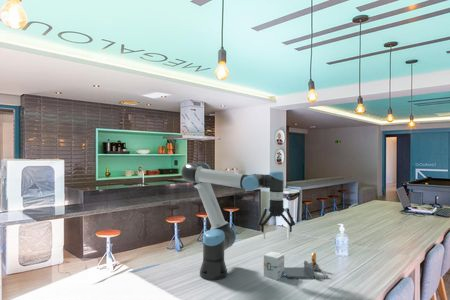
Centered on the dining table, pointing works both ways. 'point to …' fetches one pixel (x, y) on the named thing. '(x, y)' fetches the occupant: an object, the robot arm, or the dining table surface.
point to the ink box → (274, 265)
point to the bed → (300, 272)
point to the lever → (314, 262)
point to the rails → (321, 275)
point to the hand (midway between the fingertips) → (276, 238)
